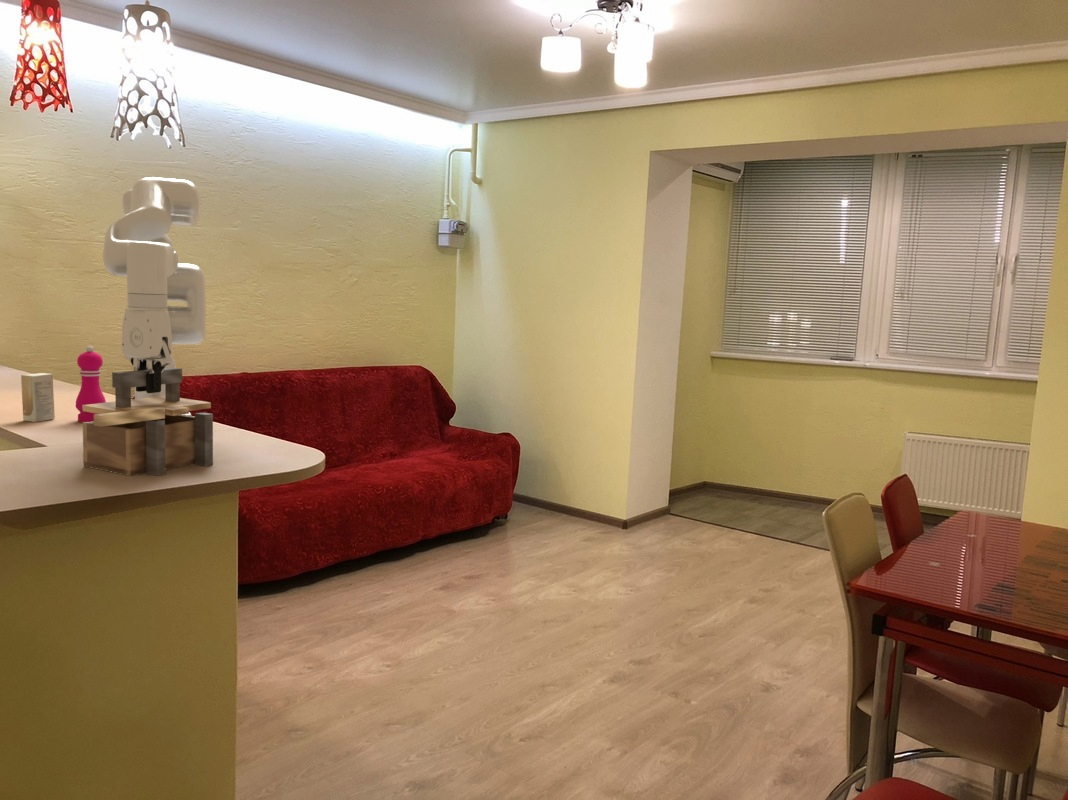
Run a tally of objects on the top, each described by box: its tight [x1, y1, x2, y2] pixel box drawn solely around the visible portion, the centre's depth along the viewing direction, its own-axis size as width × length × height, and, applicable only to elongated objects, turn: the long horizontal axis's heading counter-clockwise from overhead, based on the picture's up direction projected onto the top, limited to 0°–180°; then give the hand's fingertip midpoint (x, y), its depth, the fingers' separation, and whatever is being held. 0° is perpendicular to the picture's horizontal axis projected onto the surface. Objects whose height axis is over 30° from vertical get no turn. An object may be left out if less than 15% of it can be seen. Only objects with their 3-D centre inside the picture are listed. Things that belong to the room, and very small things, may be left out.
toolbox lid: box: [82, 367, 212, 416], centre depth 177 cm, size 20×16×8 cm
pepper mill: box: [75, 345, 106, 423], centre depth 227 cm, size 7×7×20 cm
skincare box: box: [20, 372, 56, 423], centre depth 224 cm, size 6×4×12 cm
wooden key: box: [94, 407, 165, 427], centre depth 163 cm, size 14×2×2 cm, turn 153°
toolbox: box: [82, 412, 214, 477], centre depth 177 cm, size 20×18×11 cm
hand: (148, 390), depth 177 cm, fingers closed on toolbox lid, 2 cm apart
